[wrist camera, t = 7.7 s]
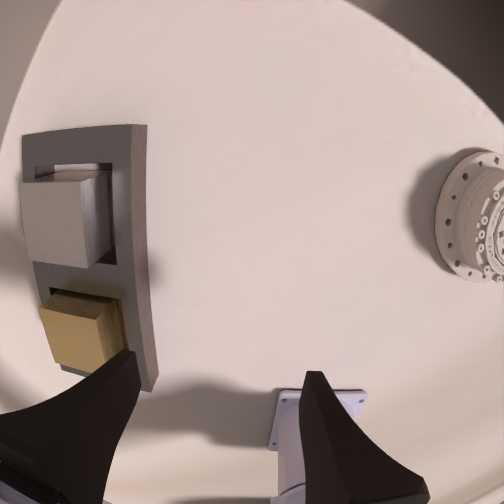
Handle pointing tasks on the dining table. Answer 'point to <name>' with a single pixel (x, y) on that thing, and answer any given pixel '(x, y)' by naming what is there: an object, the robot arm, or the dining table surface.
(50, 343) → the brushed gold cube
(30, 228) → the silver gray cube
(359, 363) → the dining table surface
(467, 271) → the mechanical component
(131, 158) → the grey tray
